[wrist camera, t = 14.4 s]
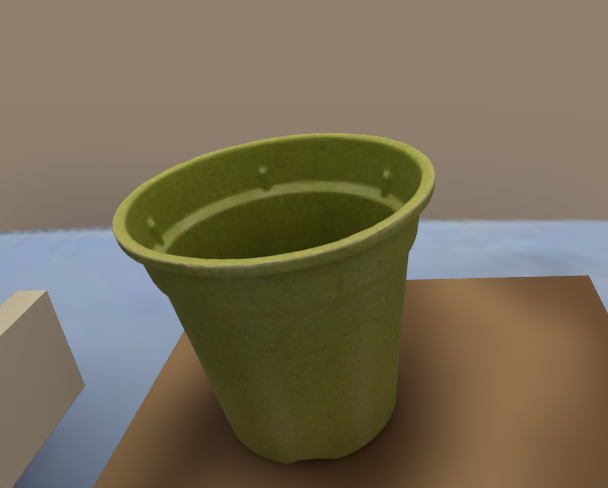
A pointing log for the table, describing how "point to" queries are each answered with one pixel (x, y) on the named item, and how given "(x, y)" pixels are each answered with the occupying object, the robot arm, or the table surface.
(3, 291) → the table surface
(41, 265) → the table surface
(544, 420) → the walnut board
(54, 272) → the table surface
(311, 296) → the plant pot
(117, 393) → the table surface
